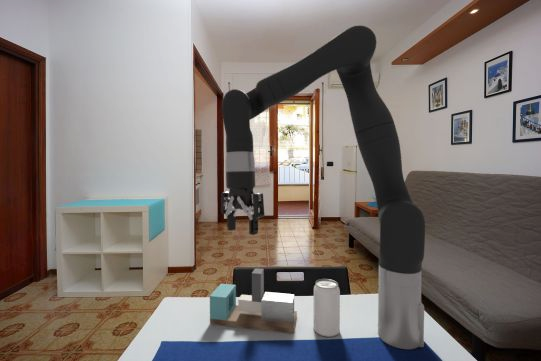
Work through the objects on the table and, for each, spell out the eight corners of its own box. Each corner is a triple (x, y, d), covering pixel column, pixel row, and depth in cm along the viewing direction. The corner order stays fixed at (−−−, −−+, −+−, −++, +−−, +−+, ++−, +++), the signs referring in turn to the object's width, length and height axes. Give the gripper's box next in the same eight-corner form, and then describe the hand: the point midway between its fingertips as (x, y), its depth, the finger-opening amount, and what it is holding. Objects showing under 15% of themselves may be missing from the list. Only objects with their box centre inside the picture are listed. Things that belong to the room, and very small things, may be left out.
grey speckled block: (294, 313, 74) (294, 294, 73) (292, 323, 69) (292, 302, 69) (265, 311, 75) (265, 291, 75) (261, 320, 70) (261, 299, 70)
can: (340, 339, 65) (340, 289, 64) (312, 336, 66) (313, 287, 66) (339, 324, 71) (339, 279, 71) (314, 321, 72) (314, 277, 72)
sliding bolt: (292, 309, 73) (292, 270, 73) (290, 316, 69) (290, 275, 69) (242, 304, 76) (241, 267, 75) (238, 311, 72) (237, 272, 72)
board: (296, 316, 75) (296, 311, 75) (293, 333, 67) (293, 327, 67) (221, 309, 79) (221, 303, 79) (210, 324, 71) (209, 318, 71)
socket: (235, 305, 78) (235, 284, 78) (226, 320, 70) (226, 297, 70) (221, 303, 79) (220, 283, 79) (209, 318, 71) (209, 296, 71)
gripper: (270, 169, 69) (271, 233, 69) (233, 170, 78) (235, 226, 79) (248, 169, 63) (250, 238, 64) (212, 171, 73) (214, 231, 73)
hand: (242, 232), depth 71 cm, fingers open, 8 cm apart
